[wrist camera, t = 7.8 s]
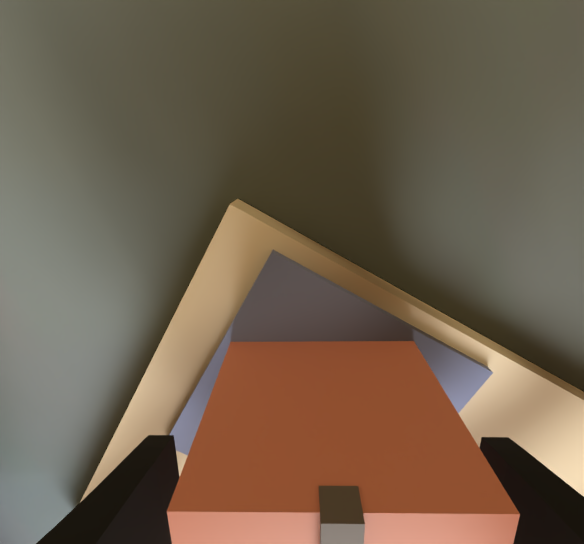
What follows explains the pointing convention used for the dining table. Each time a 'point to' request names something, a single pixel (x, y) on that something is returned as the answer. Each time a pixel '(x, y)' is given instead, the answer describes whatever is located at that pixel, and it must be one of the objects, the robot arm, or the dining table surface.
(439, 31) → the dining table surface
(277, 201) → the dining table surface
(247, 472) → the strapped orange box
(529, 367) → the board
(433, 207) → the dining table surface
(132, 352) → the dining table surface
